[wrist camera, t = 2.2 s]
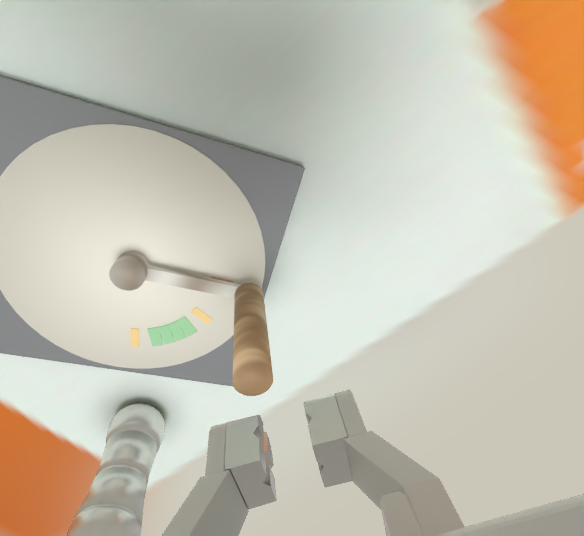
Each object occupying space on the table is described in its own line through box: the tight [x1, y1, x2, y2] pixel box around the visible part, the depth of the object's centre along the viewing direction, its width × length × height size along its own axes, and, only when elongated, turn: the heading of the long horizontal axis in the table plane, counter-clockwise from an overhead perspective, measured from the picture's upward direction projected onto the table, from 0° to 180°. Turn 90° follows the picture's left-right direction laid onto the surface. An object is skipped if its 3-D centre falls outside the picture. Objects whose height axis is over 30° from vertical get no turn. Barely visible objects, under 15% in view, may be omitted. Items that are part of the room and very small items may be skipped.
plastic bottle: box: [67, 403, 165, 536], centre depth 39 cm, size 6×7×20 cm
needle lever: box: [109, 252, 273, 396], centre depth 32 cm, size 15×3×14 cm, turn 73°
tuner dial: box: [0, 75, 305, 386], centre depth 38 cm, size 28×28×2 cm
